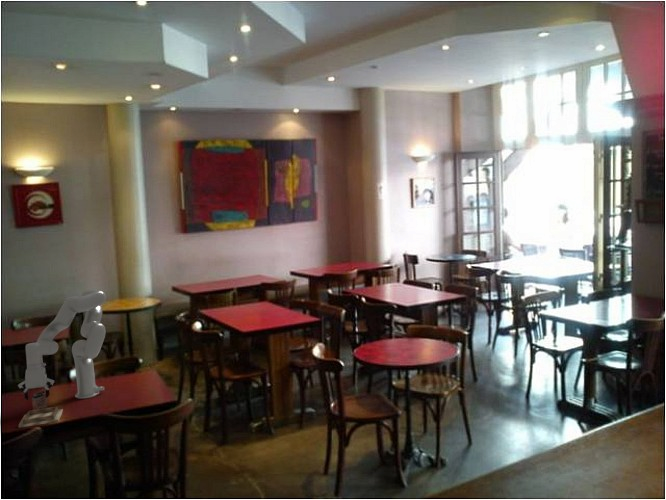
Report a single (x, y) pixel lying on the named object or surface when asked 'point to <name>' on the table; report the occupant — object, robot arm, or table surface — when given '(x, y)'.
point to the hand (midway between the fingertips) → (37, 398)
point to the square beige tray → (41, 416)
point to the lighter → (39, 400)
